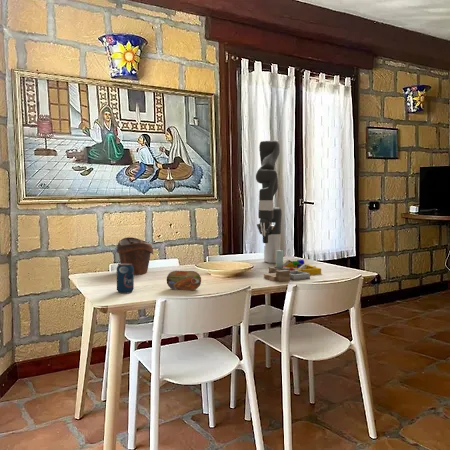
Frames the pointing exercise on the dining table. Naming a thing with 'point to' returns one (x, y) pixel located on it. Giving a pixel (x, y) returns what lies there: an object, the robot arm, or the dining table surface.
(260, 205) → the robot arm
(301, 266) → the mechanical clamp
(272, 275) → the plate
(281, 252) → the dowel
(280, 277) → the bench dog
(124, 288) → the soda can
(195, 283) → the tin
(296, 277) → the tray
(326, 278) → the dining table surface
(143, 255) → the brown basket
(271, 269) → the socket block
